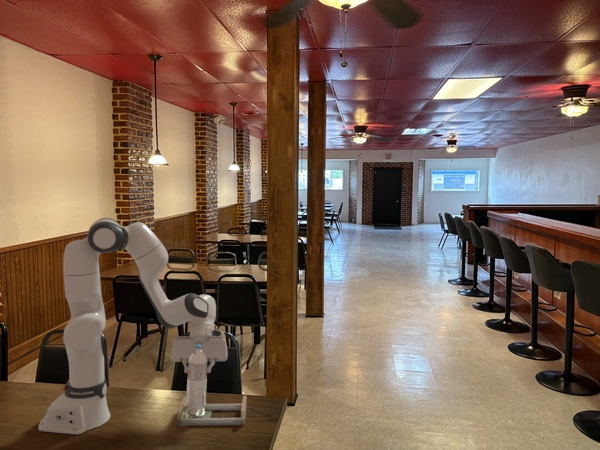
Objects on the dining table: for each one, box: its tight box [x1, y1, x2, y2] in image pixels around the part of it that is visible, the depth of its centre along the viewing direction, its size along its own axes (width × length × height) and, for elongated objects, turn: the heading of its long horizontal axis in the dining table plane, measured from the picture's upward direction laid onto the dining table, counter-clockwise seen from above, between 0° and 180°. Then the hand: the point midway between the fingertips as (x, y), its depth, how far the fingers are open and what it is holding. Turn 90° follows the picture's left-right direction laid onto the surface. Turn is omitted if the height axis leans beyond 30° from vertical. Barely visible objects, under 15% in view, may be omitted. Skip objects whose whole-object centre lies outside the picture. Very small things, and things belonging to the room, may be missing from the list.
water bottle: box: [185, 345, 209, 417], centre depth 160 cm, size 7×7×25 cm
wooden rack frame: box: [176, 395, 247, 427], centre depth 161 cm, size 23×11×5 cm, turn 93°
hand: (197, 372), depth 159 cm, fingers closed on water bottle, 6 cm apart
